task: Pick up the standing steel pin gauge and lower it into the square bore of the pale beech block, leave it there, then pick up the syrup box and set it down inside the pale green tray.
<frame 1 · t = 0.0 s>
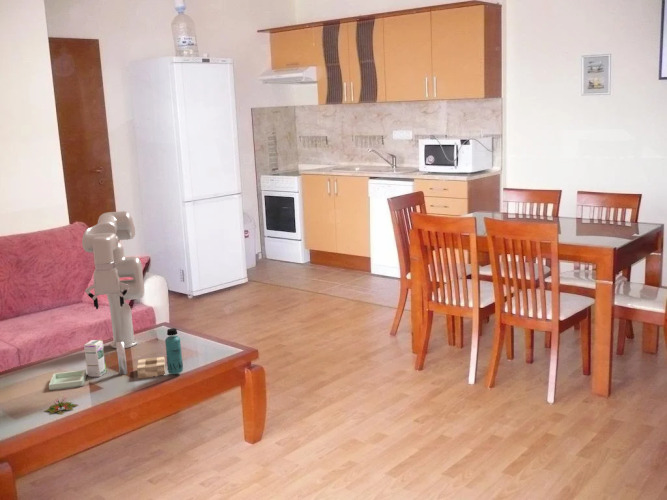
hand: (109, 307, 286), 31 cm above the table, tool pointing down, fingers open, 9 cm apart
syrup box: (97, 374, 299), on the table
lily flower: (61, 410, 265), on the table
tray: (68, 382, 290), on the table
beverage bottle: (176, 374, 294), on the table
bore block: (152, 372, 298), on the table
pin gauge: (123, 373, 298), on the table
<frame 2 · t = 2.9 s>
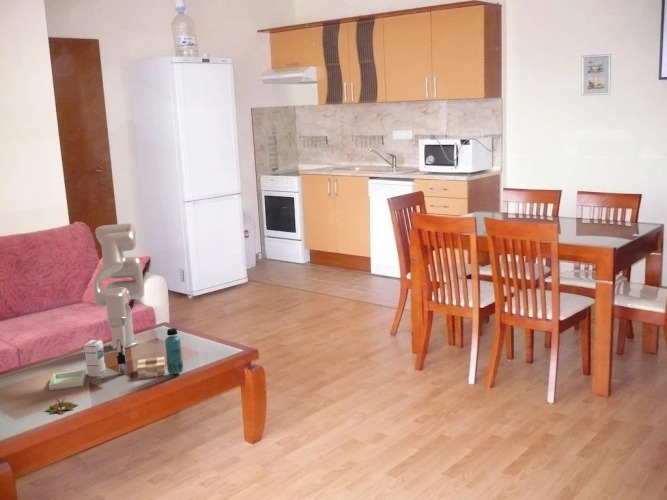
hand: (122, 361, 297), 5 cm above the table, tool pointing down, fingers closed on pin gauge, 3 cm apart
pin gauge: (123, 373, 298), on the table, touching gripper
everything else where it was.
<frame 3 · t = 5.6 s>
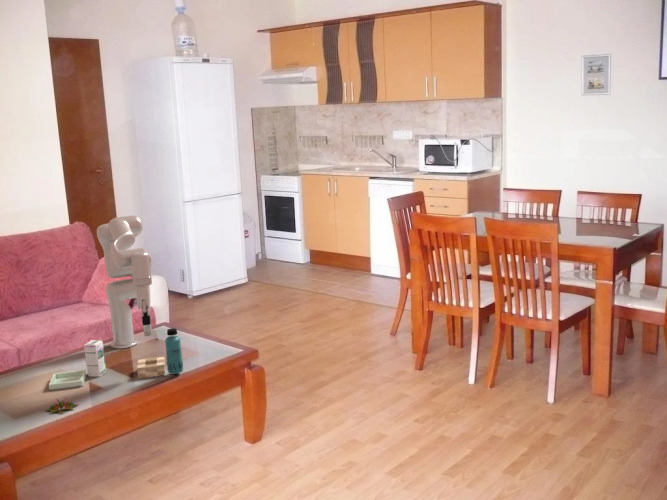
hand: (146, 323, 293), 22 cm above the table, tool pointing down, fingers closed on pin gauge, 3 cm apart
pin gauge: (148, 334, 294), point 17 cm above the table, touching gripper
everything else where it was.
when the fingers open (6 cm above the table, at t = 8.6 s): pin gauge stays where it is, resting in bore block.
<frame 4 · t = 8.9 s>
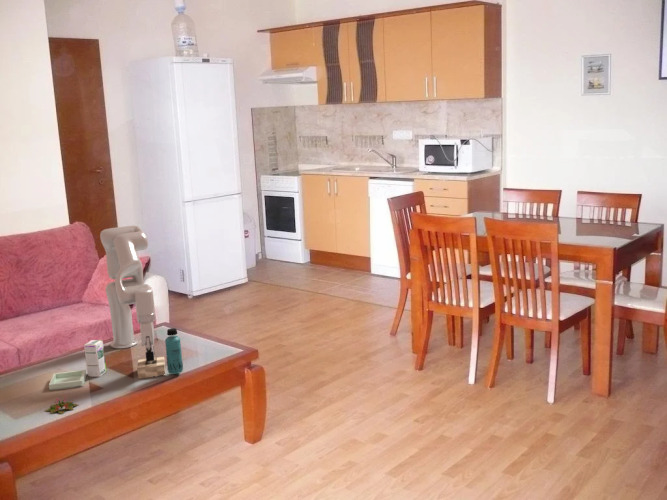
hand: (150, 357, 296), 7 cm above the table, tool pointing down, fingers open, 6 cm apart
pin gauge: (151, 372, 298), resting in bore block
everything else where it was.
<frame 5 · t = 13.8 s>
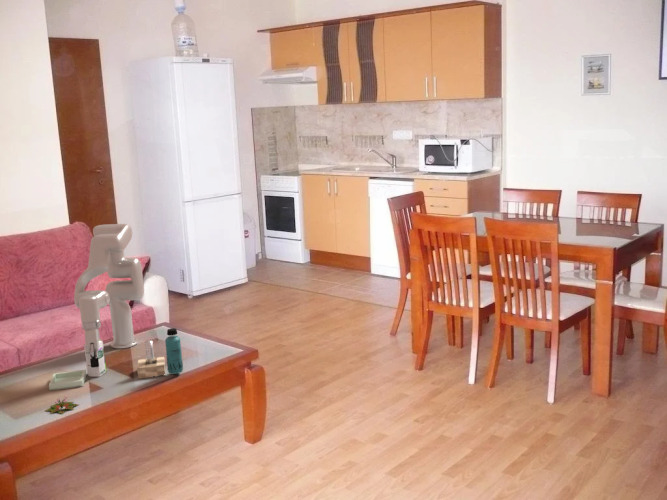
hand: (96, 363, 297), 5 cm above the table, tool pointing down, fingers closed on syrup box, 7 cm apart
syrup box: (97, 374, 298), on the table, touching gripper
everything else where it was.
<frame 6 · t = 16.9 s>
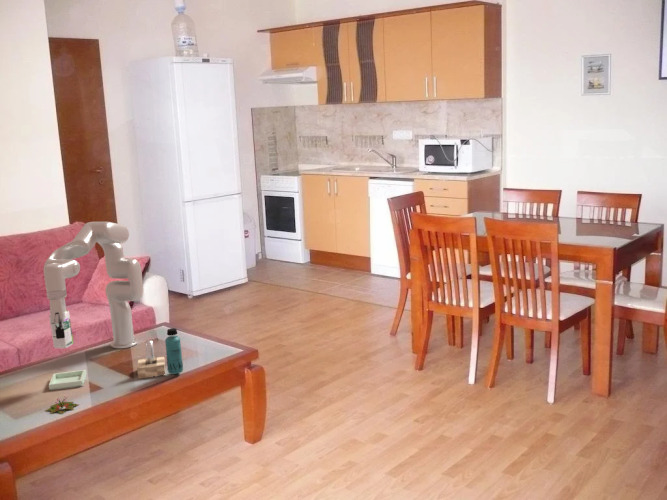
hand: (62, 334, 286), 21 cm above the table, tool pointing down, fingers closed on syrup box, 7 cm apart
syrup box: (63, 346, 287), point 16 cm above the table, touching gripper
everything else where it was.
when the fingers open (7 cm above the table, at t = 19.9 s): syrup box drops 1 cm, resting on tray.
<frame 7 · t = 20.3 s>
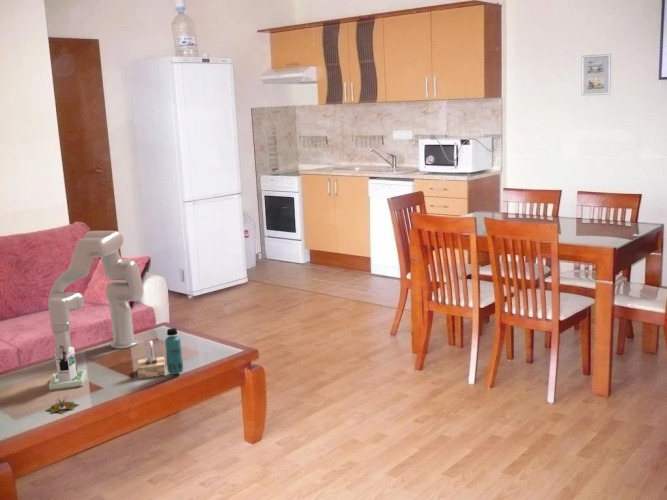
hand: (66, 366, 289), 7 cm above the table, tool pointing down, fingers open, 9 cm apart
syrup box: (68, 381, 290), resting on tray
everything else where it was.
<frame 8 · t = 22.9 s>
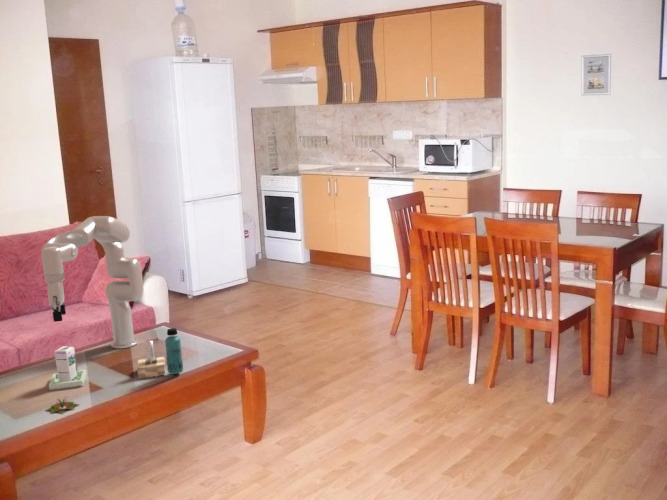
hand: (59, 317, 285), 28 cm above the table, tool pointing down, fingers open, 9 cm apart
nothing on the table moved.
at the end: pin gauge 0.1 cm from the bore block (horizontally); syrup box 0.2 cm from the tray (horizontally); syrup box tilted 0° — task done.
